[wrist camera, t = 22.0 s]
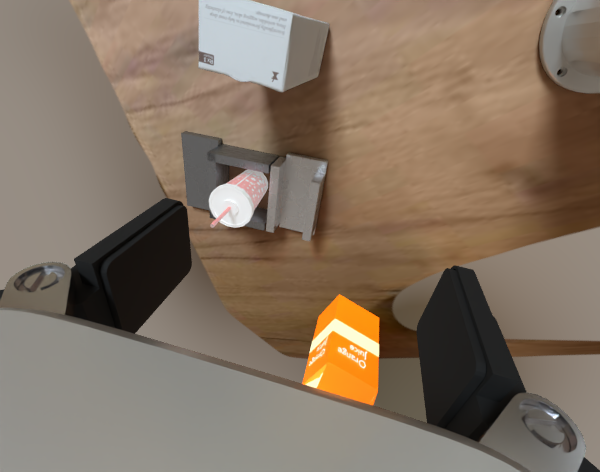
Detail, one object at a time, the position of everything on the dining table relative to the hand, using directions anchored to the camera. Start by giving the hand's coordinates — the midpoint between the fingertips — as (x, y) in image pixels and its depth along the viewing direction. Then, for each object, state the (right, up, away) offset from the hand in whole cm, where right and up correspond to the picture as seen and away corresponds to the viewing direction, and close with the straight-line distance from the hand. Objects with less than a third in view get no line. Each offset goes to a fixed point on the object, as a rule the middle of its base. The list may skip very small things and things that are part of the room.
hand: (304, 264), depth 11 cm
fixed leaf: (-11, +10, +37) cm, 40 cm away
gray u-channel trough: (0, +8, +35) cm, 36 cm away
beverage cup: (-7, +9, +37) cm, 38 cm away
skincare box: (-1, +24, +26) cm, 35 cm away
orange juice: (+9, -14, +47) cm, 50 cm away
